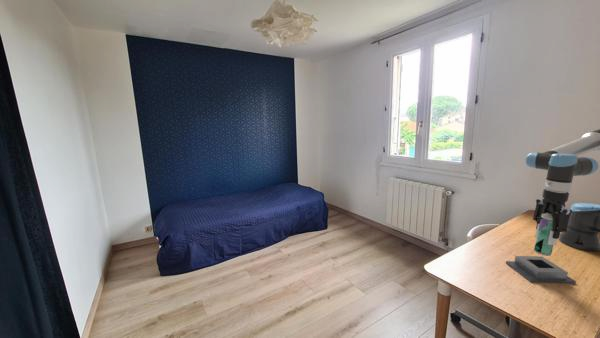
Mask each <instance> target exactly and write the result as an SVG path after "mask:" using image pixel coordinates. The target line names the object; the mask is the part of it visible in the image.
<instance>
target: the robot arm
mask: <svg viewBox="0 0 600 338" xmlns="http://www.w3.org/2000/svg"><path fill="white" fill-rule="evenodd" d="M598 151H600V128H599V129H595V130H592V131H590V132H587V133H585V134H583V135H582V136H581V137H580V138H577V139H575V140H572V141H570V142H567V143H564V144H562V145H560V146H557V147H554V148H552V149H549V150H546V151H544V152H530V153H529V154H527V156H526V158H525V164H526V165H527V167H529V168H534V169H536V170H543V171H547V173H546V177H545V182H544V186H543V188H544V189H543V192H542V199H535V202H536V204H535V205H536V206H535V208H534V209H535V210H534V213H533V218H532V219H533V220H534V221H535V222H536V226H535V227H536V228H535V230H536V231H535V236H534V237H535V238H537V234H538V229H539V224H540V220H541V215H542V214H544V213H546V212H548V211H551V215H552V218H553V230H551V231H550V235H549V240H548V244H549V245H553V246H556V245H557V241H559V242H561V243H562V244H564V245H566V246H569V247H571V248H574V249H578V250H582V251H587V252H599V251H600V236H599V234H600V204H596V203H590V202H589V203H587V202H586V203H585V202H576V203H573V204H572V205H571V206H570V209H568V208H567V206H566V202H568V200H569V196H570V193H569V192H571V187H572V183H573V179H574V177H577V176H578V177H579V176H582V177H584V176H589V175H591V174H594V173H596V172H597V171H598V169H599V162H597V160H595V158H592V157H585V156H584V155H585V154H586V155H587V154H589V153H590V152H598ZM581 156H582V157H581Z"/></svg>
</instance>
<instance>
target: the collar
mask: <svg viewBox="0 0 600 338" xmlns="http://www.w3.org/2000/svg"><path fill="white" fill-rule="evenodd" d="M505 264H506V265H508V266H509V267H511V269H513V270H514V271H516V272H517V273H518V274H519V275H521V276H522V277H523V278H524V279H526V280H527V281H528V282H530V283H543V284H544V283H545V284H549V283H550V284H572V285H573V284H575V285H576V284H577V281H576V280H574V279H573V278H572V277H570V276H568V274H569V272H568V271H567V270H565V269H563V268H561V267H560V266H558V265H557V264H555V263H554V262H552V261H550V260H549V259H548V258H545V257H543V256H539V255H538V256H536V255H535V256H531V255H529V256H527V255H515V257H514V260H513V261H511V260H510V261H509V260H506V261H505Z"/></svg>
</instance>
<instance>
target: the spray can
mask: <svg viewBox="0 0 600 338" xmlns="http://www.w3.org/2000/svg"><path fill="white" fill-rule="evenodd" d="M551 230H553V218H552V215H551V211H548V212H546V213H544V214H542V215H541V220H540V224H539V229H538V234H537V238H536V237H535V238H536V239H535V244H534V249H533V251H534V252H535V253H537V254H538V255H540V256H541V255H542V256H546V257H550V256H552V252H553V249H554V245H549V244H548V240H549V235H550V231H551Z"/></svg>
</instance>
